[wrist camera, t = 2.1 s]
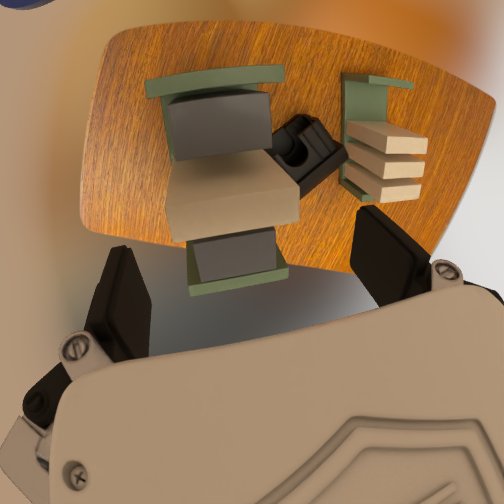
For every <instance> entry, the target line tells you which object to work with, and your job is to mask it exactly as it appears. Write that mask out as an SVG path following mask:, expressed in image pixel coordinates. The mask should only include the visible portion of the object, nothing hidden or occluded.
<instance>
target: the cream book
mask: <svg viewBox="0 0 504 504" xmlns="http://www.w3.org/2000/svg"><path fill="white" fill-rule="evenodd" d="M299 203H300V187H299V186H298V185H297V184H296V183H295V181H294V180H293V179H292V178H291V177H290V176H289V175H288V174H287V173H286V172H285V171H284V170H283V169H282V168H281V167H280V166H279V165H278V164H277V163H276V162H275V161H274V160H273V159H272V158H271V157H270V156H269V155H268V154H267V153H266V152H265V151H264V150H263V149H258V150H250V151H242V152H234V153H227V154H220V155H213V156H207V157H201V158H195V159H189V160H184V161H178V162H176V159H175V157H173V162H172V168H171V173H170V179H169V185H168V191H167V197H166V203H165V212H166V216H167V220H168V224H169V228H170V232H171V236H172V240H173V243H178V242H184V241H189V240H195V239H200V238H206V237H211V236H217V235H223V234H229V233H235V232H240V231H246V230H252V229H258V228H264V227H270V226H277V225H283V224H289V223H295V222H299Z"/></svg>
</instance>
